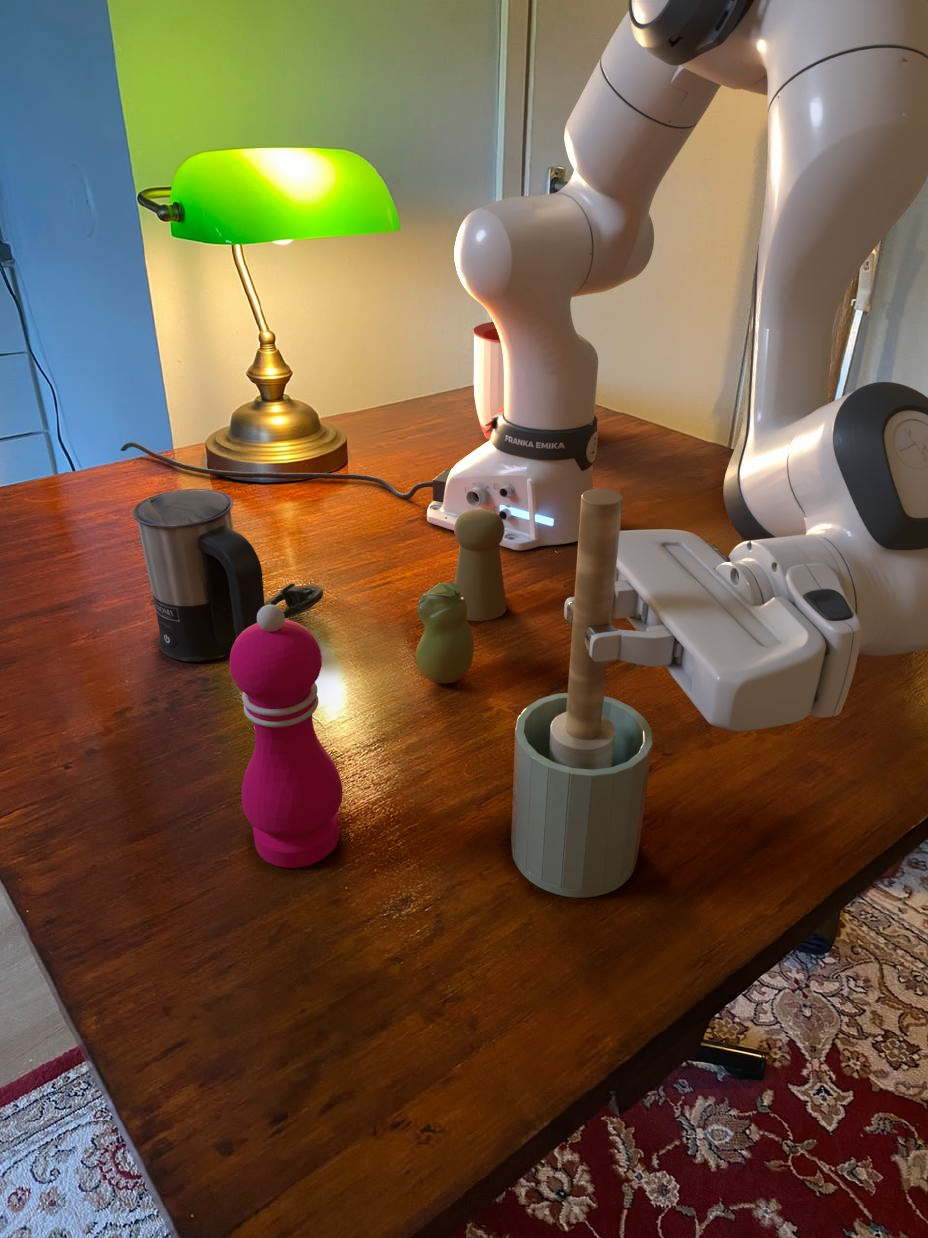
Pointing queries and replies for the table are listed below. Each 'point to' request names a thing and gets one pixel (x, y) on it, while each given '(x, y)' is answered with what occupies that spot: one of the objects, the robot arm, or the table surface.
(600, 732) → the bottle brush
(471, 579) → the brown peg figure
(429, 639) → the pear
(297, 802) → the pepper mill
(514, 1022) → the table surface
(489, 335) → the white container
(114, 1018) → the table surface
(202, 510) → the milk frother
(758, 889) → the table surface
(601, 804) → the faceted pen cup
